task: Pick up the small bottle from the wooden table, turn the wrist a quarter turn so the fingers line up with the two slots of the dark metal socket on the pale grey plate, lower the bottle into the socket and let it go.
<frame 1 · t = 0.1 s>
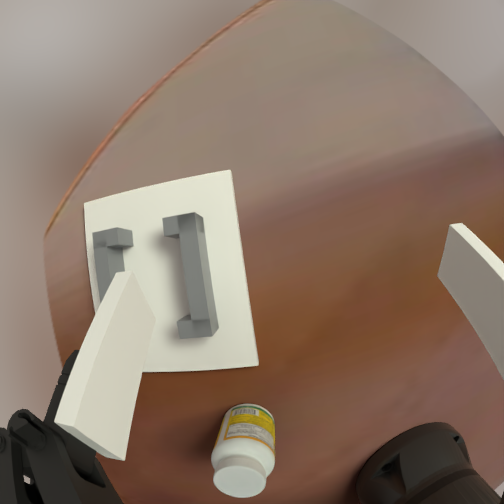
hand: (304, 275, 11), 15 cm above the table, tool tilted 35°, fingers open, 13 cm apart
socket: (162, 279, 27), on the table
supplement bottle: (248, 422, 26), on the table
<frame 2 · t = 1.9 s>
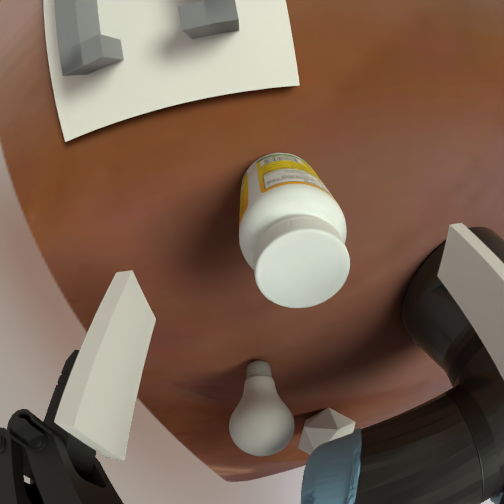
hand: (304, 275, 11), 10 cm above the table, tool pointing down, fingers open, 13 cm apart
die: (322, 414, 39), on the table
lightbulb: (258, 360, 30), on the table
supplement bottle: (278, 187, 20), on the table
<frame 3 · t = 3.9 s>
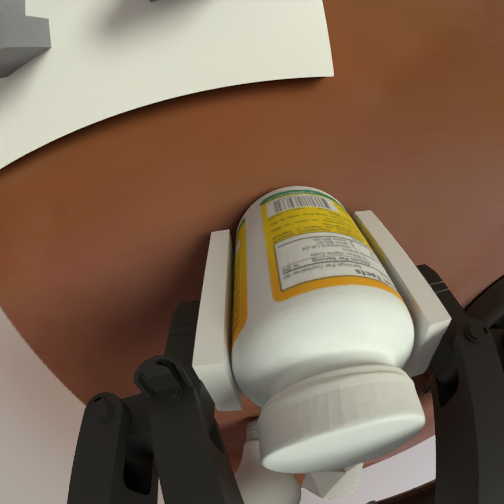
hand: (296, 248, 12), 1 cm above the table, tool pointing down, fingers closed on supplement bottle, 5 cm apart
die: (328, 451, 33), on the table
lightbulb: (259, 416, 24), on the table
supplement bottle: (292, 236, 13), on the table, touching gripper
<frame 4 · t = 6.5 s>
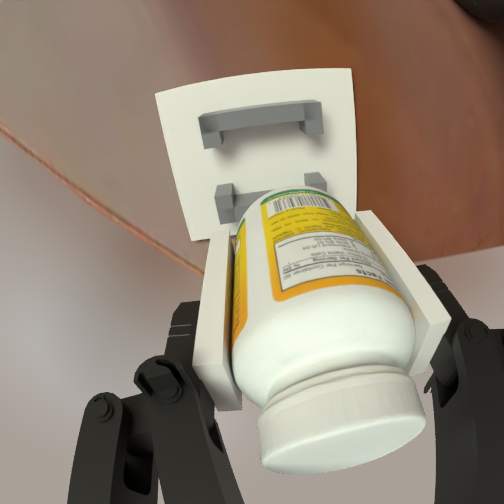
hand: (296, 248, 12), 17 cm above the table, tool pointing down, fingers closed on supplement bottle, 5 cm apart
socket: (264, 153, 27), on the table
supplement bottle: (292, 235, 13), point 16 cm above the table, touching gripper
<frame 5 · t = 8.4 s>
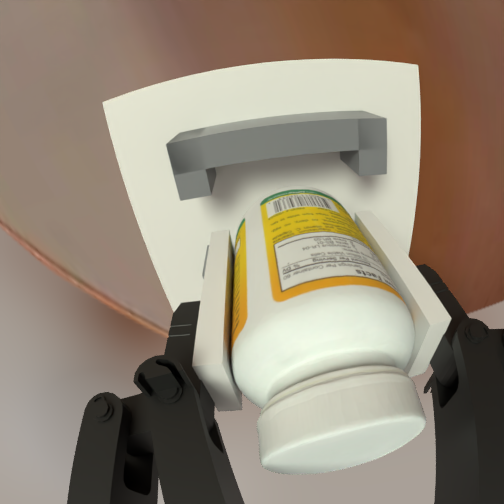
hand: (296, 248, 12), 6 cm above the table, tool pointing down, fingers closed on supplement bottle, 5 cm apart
socket: (281, 195, 17), on the table
supplement bottle: (292, 236, 13), point 5 cm above the table, touching gripper
when the fingers open (3 cm above the table, at t = 9.5 s): supplement bottle drops 1 cm, resting on socket.
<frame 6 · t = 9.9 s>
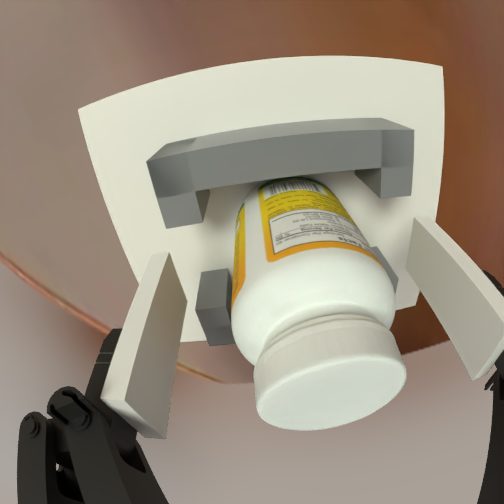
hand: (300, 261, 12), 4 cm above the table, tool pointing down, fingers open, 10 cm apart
socket: (285, 214, 15), on the table
supplement bottle: (287, 220, 14), point 1 cm above the table, touching socket
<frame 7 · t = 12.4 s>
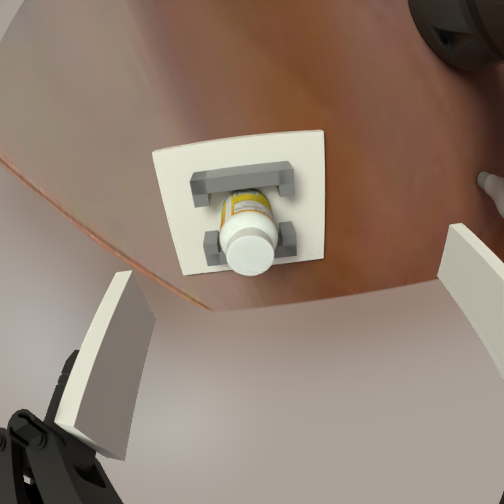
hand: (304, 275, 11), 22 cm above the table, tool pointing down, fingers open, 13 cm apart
socket: (245, 205, 33), on the table
lightbulb: (478, 176, 32), on the table
supplement bottle: (245, 207, 32), point 1 cm above the table, touching socket
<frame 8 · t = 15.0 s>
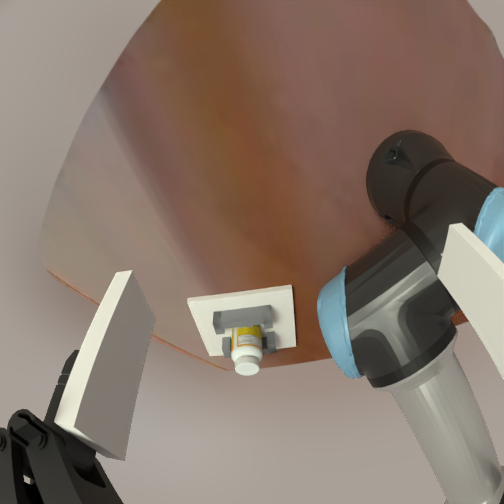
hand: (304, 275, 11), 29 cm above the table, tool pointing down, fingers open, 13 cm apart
socket: (246, 323, 53), on the table
supplement bottle: (246, 326, 53), point 1 cm above the table, touching socket
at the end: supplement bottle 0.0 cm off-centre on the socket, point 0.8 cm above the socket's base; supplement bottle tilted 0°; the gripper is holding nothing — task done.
